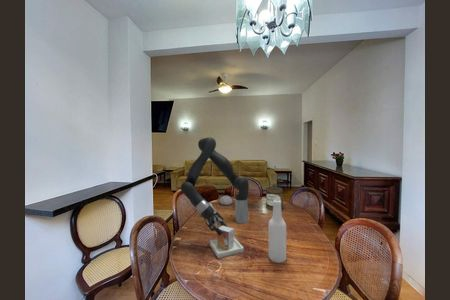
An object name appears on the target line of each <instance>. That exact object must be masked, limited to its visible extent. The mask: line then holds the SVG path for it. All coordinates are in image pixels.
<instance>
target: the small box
mask: <svg viewBox="0 0 450 300" xmlns="http://www.w3.org/2000/svg"><path fill="white" fill-rule="evenodd" d="M226 226H227V225H226ZM226 226H221V225H220V226H219V227H218V228H219V229H220V231H221V232H222V234H221V235H220V236H219V235H218V234H217V233H216V234H217V235H216V237H217V238H216V239H217V247H220V248H223V249H225V250H230V249H231V248H233V247H234V238H235V233H234V232H235V229H234V228H233V227H230V226H227V227H226Z"/></svg>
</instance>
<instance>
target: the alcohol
mask: <svg viewBox="0 0 450 300" xmlns="http://www.w3.org/2000/svg"><path fill="white" fill-rule="evenodd" d="M268 258H269V259H270V261H272V262H273V263H277V264H282V263H285V261H286V260H287V224H286V222H285V220H284V219H283V214H282V210H281V201H280V200H274V201H273V211H272V217H271V218H270V219H269V221H268Z"/></svg>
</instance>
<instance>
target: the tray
mask: <svg viewBox="0 0 450 300" xmlns="http://www.w3.org/2000/svg"><path fill="white" fill-rule="evenodd" d="M209 246H210V247H211V250H212V252H213V253H214V254H215V256H216V258H217V259H218V260H219V259H222V258H226V257H230V256H233V255H234V256H235V255H239V254H242V253H244V252H245V247H244V246H243V245H242V244H241V243H240V242H239V240H237V238H236V237H234V247H233V248H231V249H230V250H225V249H223V248H220V247H217V238H216V239H211V240H209Z"/></svg>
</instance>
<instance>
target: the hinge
mask: <svg viewBox="0 0 450 300" xmlns="http://www.w3.org/2000/svg"><path fill="white" fill-rule="evenodd" d="M208 203H209V205H210V206H211V207H212V208H213V209H214V210H215V211H214V213H216V212H217V210H216V209H215V208H214V206H213V204H212V202H208Z"/></svg>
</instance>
